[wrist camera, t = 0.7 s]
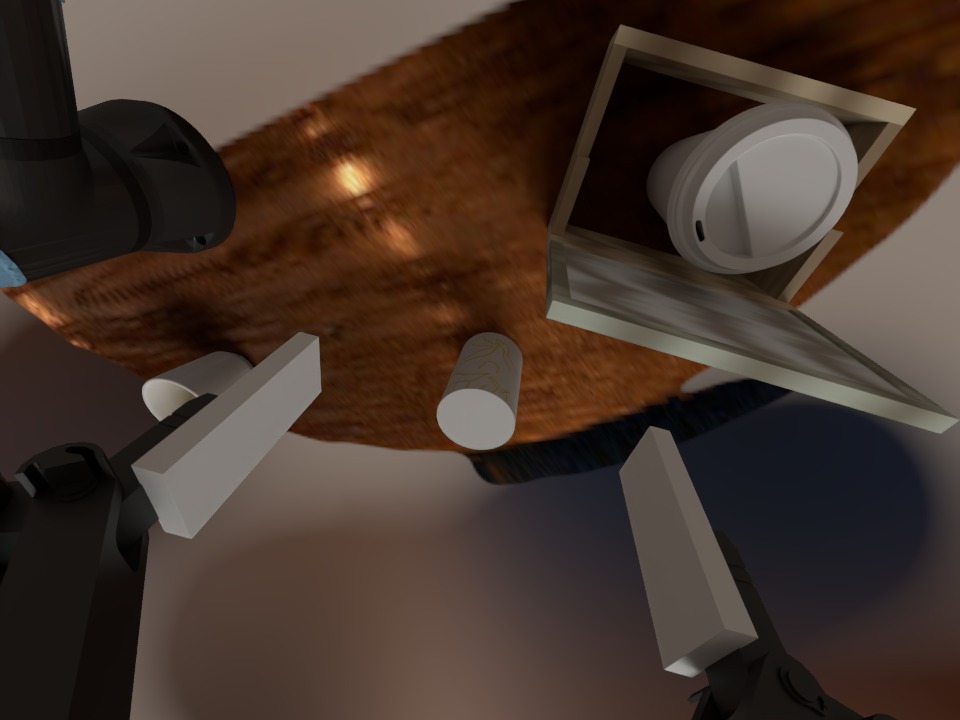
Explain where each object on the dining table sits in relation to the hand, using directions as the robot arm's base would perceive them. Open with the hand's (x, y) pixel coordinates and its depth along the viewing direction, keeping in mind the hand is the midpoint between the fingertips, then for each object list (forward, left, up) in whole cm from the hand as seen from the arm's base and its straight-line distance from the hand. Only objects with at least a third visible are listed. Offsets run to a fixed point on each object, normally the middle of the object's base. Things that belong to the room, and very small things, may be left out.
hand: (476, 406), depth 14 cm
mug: (-35, -32, -29) cm, 55 cm away
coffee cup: (+13, +9, -28) cm, 33 cm away
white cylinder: (+1, -16, -29) cm, 33 cm away
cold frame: (+13, +9, -28) cm, 32 cm away
